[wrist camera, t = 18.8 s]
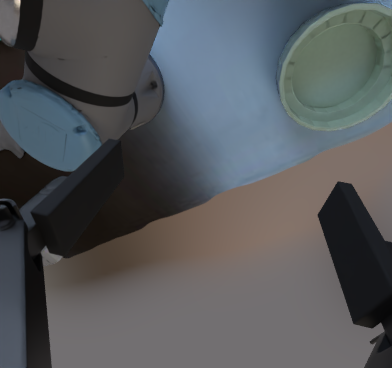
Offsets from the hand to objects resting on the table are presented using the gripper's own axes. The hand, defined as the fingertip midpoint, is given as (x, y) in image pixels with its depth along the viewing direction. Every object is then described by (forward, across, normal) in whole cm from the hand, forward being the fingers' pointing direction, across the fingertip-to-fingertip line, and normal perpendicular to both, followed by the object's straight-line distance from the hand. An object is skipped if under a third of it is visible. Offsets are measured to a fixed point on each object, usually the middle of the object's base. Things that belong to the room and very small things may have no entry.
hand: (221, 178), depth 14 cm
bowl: (+32, +14, +2) cm, 35 cm away
